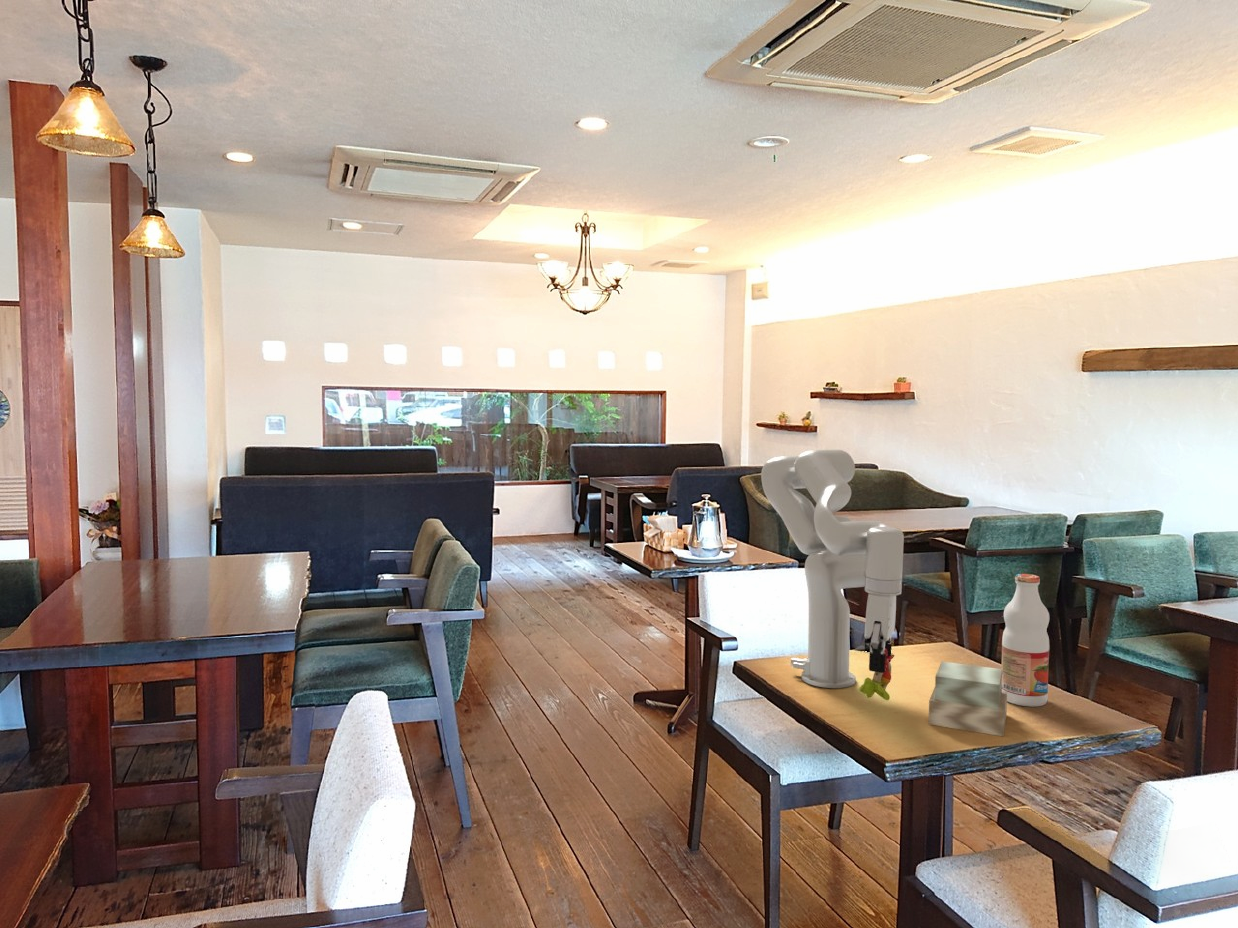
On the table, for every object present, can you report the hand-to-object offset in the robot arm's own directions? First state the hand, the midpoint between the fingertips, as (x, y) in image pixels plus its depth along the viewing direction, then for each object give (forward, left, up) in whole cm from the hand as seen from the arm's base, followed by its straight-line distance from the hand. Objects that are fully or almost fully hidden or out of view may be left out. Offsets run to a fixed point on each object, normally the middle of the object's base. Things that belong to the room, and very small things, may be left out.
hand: (880, 665), depth 181 cm
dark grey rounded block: (-9, +45, -10) cm, 47 cm away
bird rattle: (0, 0, -7) cm, 7 cm away
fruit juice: (+28, +20, -10) cm, 36 cm away
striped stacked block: (+18, +2, -10) cm, 20 cm away
